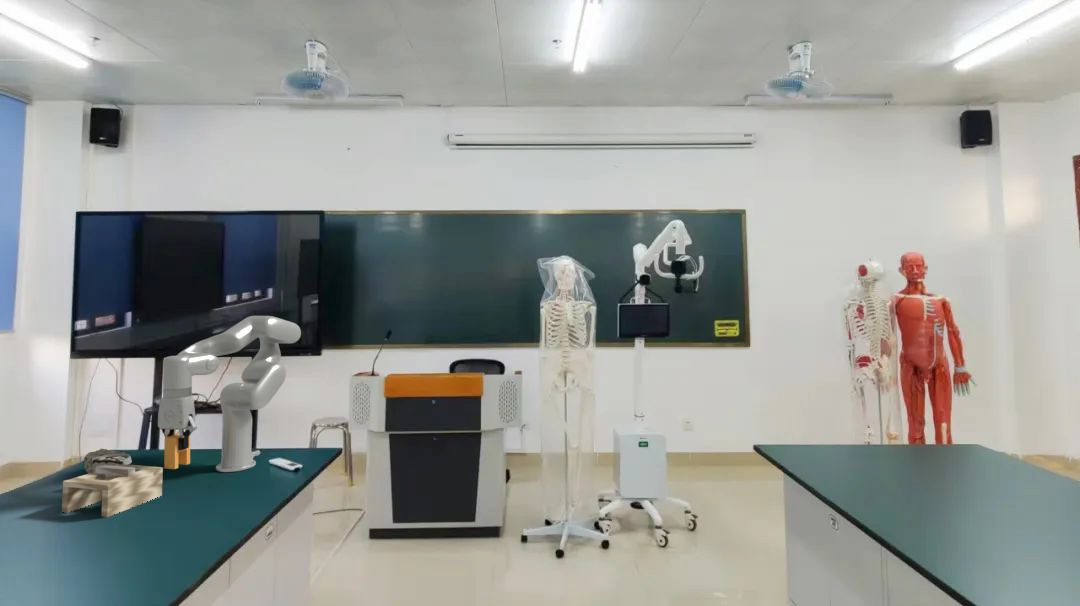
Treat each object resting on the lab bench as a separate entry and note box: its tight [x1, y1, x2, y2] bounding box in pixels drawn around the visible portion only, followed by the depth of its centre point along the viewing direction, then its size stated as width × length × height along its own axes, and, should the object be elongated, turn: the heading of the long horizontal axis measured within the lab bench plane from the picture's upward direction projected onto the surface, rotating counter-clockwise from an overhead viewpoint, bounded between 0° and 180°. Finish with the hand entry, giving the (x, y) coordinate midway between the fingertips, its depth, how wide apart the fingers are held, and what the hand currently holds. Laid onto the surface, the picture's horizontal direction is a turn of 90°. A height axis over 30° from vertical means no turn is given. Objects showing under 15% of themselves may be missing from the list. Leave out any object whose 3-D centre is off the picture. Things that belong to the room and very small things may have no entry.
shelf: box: [61, 464, 164, 518], centre depth 142 cm, size 16×16×11 cm
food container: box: [90, 453, 133, 473], centre depth 157 cm, size 12×6×10 cm, turn 84°
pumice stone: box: [83, 448, 125, 474], centre depth 170 cm, size 14×12×8 cm
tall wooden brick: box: [163, 432, 191, 470], centre depth 155 cm, size 5×4×10 cm
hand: (177, 448), depth 155 cm, fingers closed on tall wooden brick, 4 cm apart
